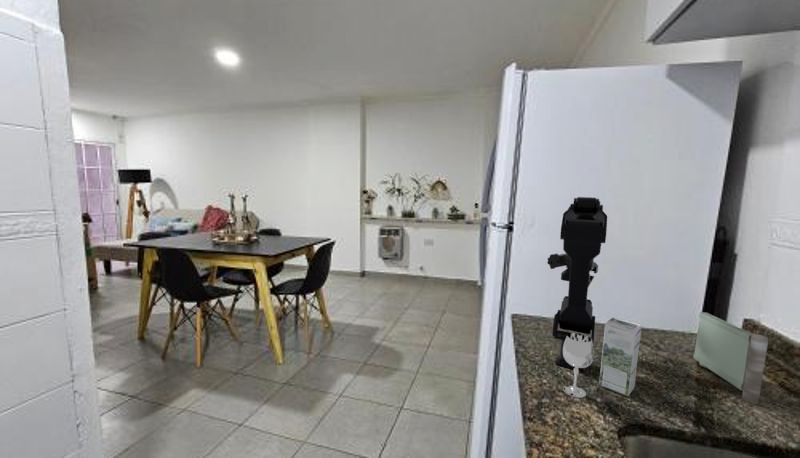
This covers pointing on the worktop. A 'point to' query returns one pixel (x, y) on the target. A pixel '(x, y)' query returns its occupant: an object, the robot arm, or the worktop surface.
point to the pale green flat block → (723, 348)
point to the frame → (753, 369)
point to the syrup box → (620, 356)
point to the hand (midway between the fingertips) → (577, 301)
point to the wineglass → (577, 359)
